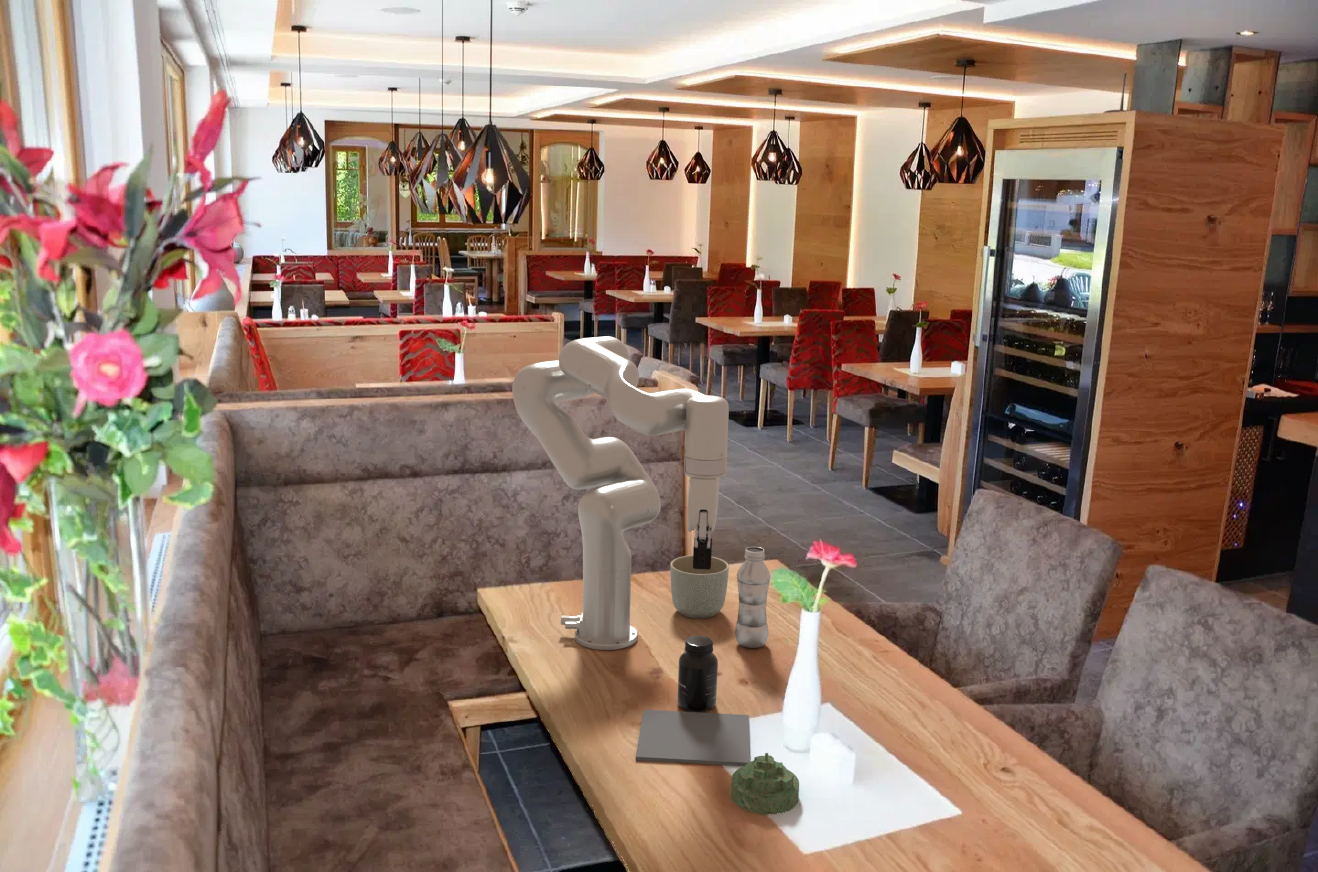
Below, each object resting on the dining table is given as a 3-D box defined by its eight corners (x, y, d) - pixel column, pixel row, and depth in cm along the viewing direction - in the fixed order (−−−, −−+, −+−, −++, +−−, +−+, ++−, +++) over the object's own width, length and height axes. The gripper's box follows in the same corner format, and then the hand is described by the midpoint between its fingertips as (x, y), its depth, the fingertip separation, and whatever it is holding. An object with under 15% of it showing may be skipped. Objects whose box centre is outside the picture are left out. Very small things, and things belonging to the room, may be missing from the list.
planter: (661, 604, 233) (663, 557, 230) (715, 599, 236) (716, 553, 234) (679, 626, 221) (681, 576, 219) (735, 620, 225) (737, 571, 223)
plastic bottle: (769, 652, 209) (773, 555, 205) (734, 651, 209) (738, 554, 205) (766, 639, 216) (771, 544, 211) (733, 638, 216) (736, 543, 211)
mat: (635, 760, 168) (635, 756, 168) (643, 712, 183) (643, 709, 183) (750, 766, 167) (750, 762, 167) (748, 718, 182) (748, 714, 182)
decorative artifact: (721, 783, 162) (745, 819, 153) (723, 741, 161) (747, 775, 151) (782, 775, 165) (809, 810, 156) (784, 733, 163) (811, 766, 154)
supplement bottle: (670, 707, 186) (671, 642, 183) (688, 692, 191) (690, 629, 189) (705, 716, 182) (707, 651, 180) (723, 701, 188) (725, 637, 186)
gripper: (686, 454, 197) (683, 548, 201) (682, 477, 181) (679, 578, 185) (726, 455, 197) (723, 549, 201) (726, 478, 180) (722, 580, 184)
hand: (702, 562), depth 193 cm, fingers open, 4 cm apart
